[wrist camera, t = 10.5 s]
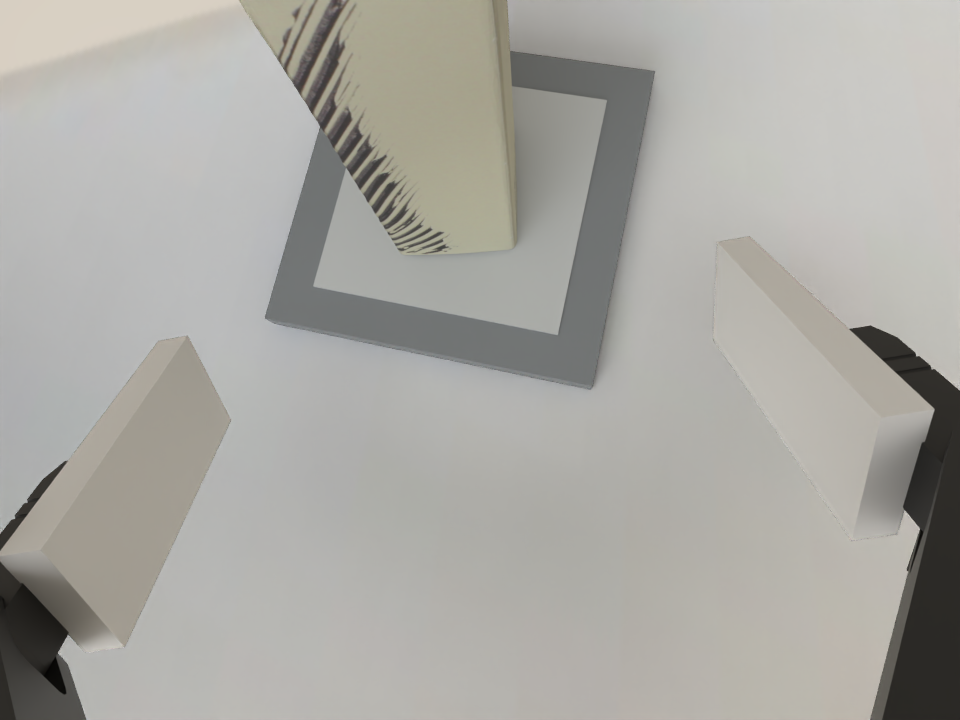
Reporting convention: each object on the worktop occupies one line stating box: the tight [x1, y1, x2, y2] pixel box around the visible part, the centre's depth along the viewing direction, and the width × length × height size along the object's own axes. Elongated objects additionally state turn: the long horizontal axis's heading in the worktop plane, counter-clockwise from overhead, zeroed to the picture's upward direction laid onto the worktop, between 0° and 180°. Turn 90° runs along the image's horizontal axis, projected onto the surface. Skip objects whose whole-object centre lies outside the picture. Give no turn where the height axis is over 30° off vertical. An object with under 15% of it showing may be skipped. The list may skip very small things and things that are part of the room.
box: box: [239, 0, 517, 255], centre depth 16 cm, size 5×4×13 cm
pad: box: [265, 51, 655, 389], centre depth 23 cm, size 12×12×1 cm
